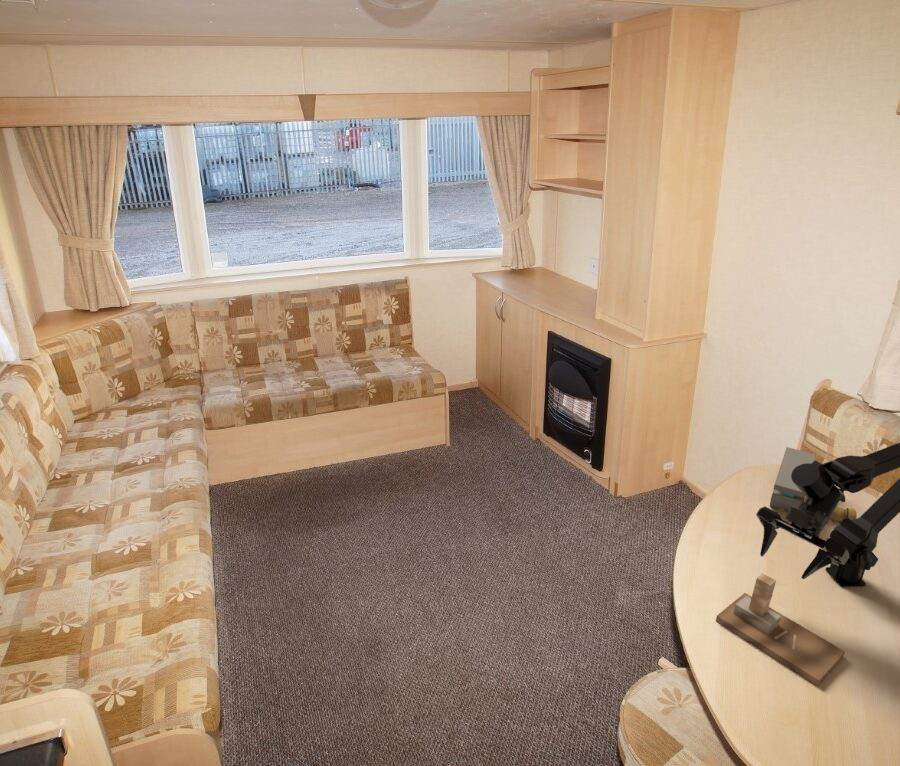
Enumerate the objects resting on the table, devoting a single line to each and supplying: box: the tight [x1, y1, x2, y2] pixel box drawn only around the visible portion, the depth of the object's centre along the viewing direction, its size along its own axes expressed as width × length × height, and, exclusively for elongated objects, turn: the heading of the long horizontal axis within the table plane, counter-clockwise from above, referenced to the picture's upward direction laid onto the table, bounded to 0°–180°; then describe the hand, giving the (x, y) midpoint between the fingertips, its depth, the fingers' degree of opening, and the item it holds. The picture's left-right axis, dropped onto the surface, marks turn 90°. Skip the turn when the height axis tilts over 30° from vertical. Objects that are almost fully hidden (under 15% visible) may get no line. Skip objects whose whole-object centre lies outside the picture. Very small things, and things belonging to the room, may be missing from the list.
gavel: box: [828, 506, 858, 523], centre depth 187 cm, size 21×5×10 cm
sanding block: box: [733, 573, 781, 634], centre depth 140 cm, size 8×4×11 cm, turn 39°
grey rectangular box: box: [769, 446, 816, 512], centre depth 186 cm, size 25×8×11 cm, turn 148°
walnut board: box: [715, 592, 846, 687], centre depth 139 cm, size 22×12×2 cm, turn 39°
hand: (781, 566), depth 141 cm, fingers open, 9 cm apart
